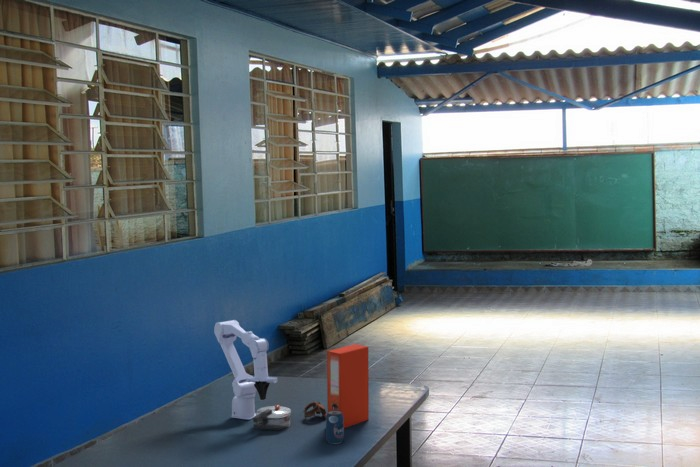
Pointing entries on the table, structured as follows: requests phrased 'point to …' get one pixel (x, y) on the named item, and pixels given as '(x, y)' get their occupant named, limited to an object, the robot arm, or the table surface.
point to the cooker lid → (271, 413)
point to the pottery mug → (314, 410)
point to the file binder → (348, 383)
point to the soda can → (335, 427)
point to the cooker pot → (273, 423)
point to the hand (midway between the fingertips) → (263, 399)
